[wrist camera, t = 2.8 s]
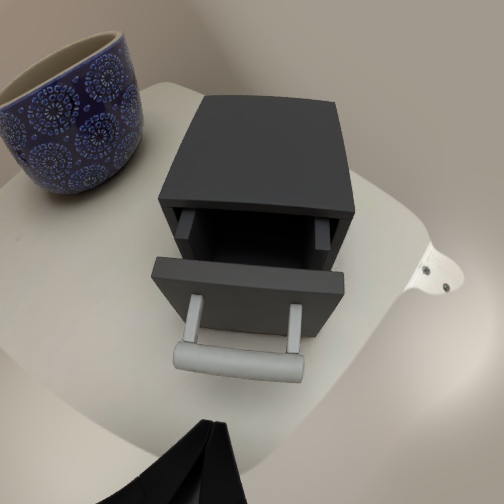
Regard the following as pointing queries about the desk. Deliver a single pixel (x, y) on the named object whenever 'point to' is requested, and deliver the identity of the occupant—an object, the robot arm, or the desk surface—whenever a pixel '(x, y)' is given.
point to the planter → (74, 114)
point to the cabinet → (263, 162)
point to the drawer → (249, 287)
